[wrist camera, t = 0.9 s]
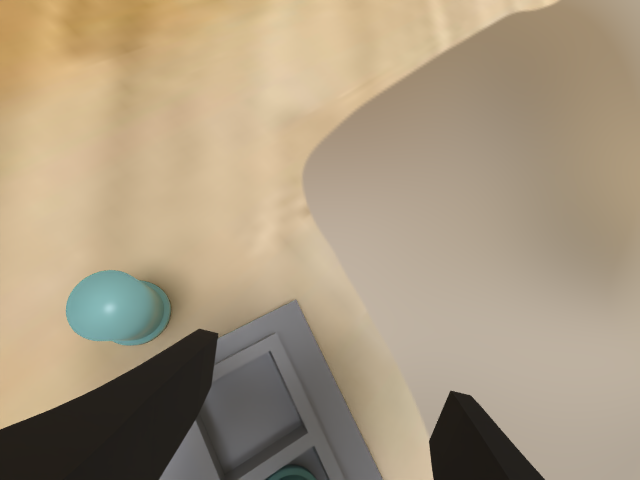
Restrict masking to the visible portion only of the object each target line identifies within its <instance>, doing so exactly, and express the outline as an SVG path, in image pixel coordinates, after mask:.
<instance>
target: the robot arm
mask: <svg viewBox="0 0 640 480" xmlns="http://www.w3.org/2000/svg"><path fill="white" fill-rule="evenodd" d="M217 340H218V333H214V332H210V331H206V330H202V329H198V330H196V331H195V332H193V333H191V334H190V335H188V336H186V337H185V338H183V339H182V340H180V341H179V342H177V343H175V344H174V345H172V346H171V347H169V348H167V349H166V350H164V351H162V352H161V353H159V354H158V355H156V356H154V357H152V358H151V359H149V360H147V361H146V362H144V363H142V364H141V365H139V366H137V367H136V368H134V369H132V370H130V371H128V372H127V373H125V374H123V375H121V376H119V377H117V378H115V379H114V380H112V381H110V382H108V383H106V384H104V385H102V386H101V387H99V388H97V389H95V390H93V391H90V392H88V393H86V394H84V395H82V396H80V397H78V398H76V399H73V400H71V401H69V402H67V403H65V404H62V405H60V406H58V407H56V408H53V409H51V410H49V411H46V412H44V413H41V414H39V415H36V416H34V417H31V418H29V419H26V420H23V421H21V422H18V423H16V424H13V425H11V426H8V427H6V428H3V429H1V430H0V480H159V479H160V477H161V476H162V474H163V472H164V471H165V469H166V467H167V466H168V464H169V463H170V461H171V459H172V458H173V456H174V454H175V453H176V451H177V450H178V448H179V446H180V445H181V443H182V441H183V440H184V438H185V436H186V435H187V433H188V431H189V430H190V428H191V427H192V425H193V423H194V422H195V420H196V418H197V416H198V414H199V412H200V410H201V408H202V406H203V403H204V401H205V399H206V397H207V395H208V393H209V390H210V388H211V385H212V378H213V370H214V363H215V355H216V348H217ZM429 445H430V454H431V463H432V471H433V478H434V480H545V479H544V478H543V477H542V476H541V475H540V474H539V472H538V471H537V470H536V469H535V468H534V467H533V466H532V465H531V464H530V463H529V461H528V460H527V459H526V458H525V457H524V456H523V455H522V453H521V452H520V451H519V450H518V449H517V448H516V447H515V445H514V444H513V443H512V442H511V441H510V440H509V438H508V437H507V436H506V435H505V434H504V433H503V432H502V431H501V429H500V428H499V427H498V426H497V424H496V423H495V422H494V421H493V420H492V419H491V418H490V416H489V415H488V414H487V413H486V412H485V411H484V409H483V408H482V407H481V406H480V405H479V404H478V403H477V402H476V401H475V400H474V398H473V397H472V396H470V395H466V394H462V393H458V392H454V391H450V393H449V396H448V398H447V400H446V403H445V405H444V407H443V410H442V412H441V414H440V417H439V419H438V421H437V424H436V426H435V428H434V431H433V433H432V436H431V438H430V440H429Z"/></svg>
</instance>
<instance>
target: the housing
mask: <svg viewBox="0 0 640 480" xmlns="http://www.w3.org/2000/svg"><path fill="white" fill-rule="evenodd" d="M285 465H299V466H302V467H304V468H306V469H307V470H309V471H310V472H311V473H312V474H313V475H314V477H315V478H316V480H383V479H382V477H381V475H380V473H379V471H378V468H377V466H376V464H375V462H374V460H373V458H372V456H371V454H370V452H369V450H368V448H367V446H366V444H365V442H364V439H363V437H362V435H361V433H360V431H359V429H358V427H357V425H356V423H355V421H354V419H353V417H352V415H351V412H350V410H349V408H348V406H347V404H346V402H345V400H344V398H343V396H342V394H341V392H340V390H339V388H338V386H337V383H336V381H335V379H334V377H333V375H332V373H331V371H330V369H329V367H328V365H327V363H326V361H325V359H324V357H323V354H322V352H321V350H320V348H319V346H318V344H317V342H316V340H315V338H314V336H313V334H312V332H311V330H310V327H309V325H308V323H307V321H306V319H305V317H304V315H303V313H302V311H301V309H300V307H299V305H298V303H297V301H296V300H294V301H292V302H290V303H288V304H286V305H284V306H282V307H280V308H278V309H276V310H274V311H272V312H270V313H268V314H266V315H264V316H262V317H260V318H258V319H256V320H254V321H252V322H250V323H248V324H246V325H244V326H242V327H240V328H238V329H236V330H234V331H232V332H230V333H228V334H226V335H224V336H222V337H220V338H218V340H217V348H216V355H215V363H214V370H213V378H212V385H211V388H210V390H209V393H208V395H207V397H206V399H205V401H204V403H203V406H202V408H201V410H200V412H199V414H198V416H197V418H196V420H195V422H194V423H193V425H192V427H191V428H190V430H189V431H188V433H187V435H186V436H185V438H184V440H183V441H182V443H181V445H180V446H179V448H178V450H177V451H176V453H175V454H174V456H173V458H172V459H171V461H170V463H169V464H168V466H167V467H166V469H165V471H164V472H163V474H162V476H161V477H160V479H159V480H265V479H266V478H267V477H269V476H270V475H272V474H273V473H274V472H276V471H277V470H279V469H280V468H282V467H283V466H285Z"/></svg>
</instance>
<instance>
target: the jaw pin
mask: <svg viewBox="0 0 640 480" xmlns="http://www.w3.org/2000/svg"><path fill="white" fill-rule="evenodd" d="M170 315H171V305H170V301H169V299H168V297H167V295H166V294H165V292H164V291H163V290H162V289H160V288H159V287H158V286H156V285H154V284H152V283H150V282H146V281H139V280H137V279H136V278H134V277H132V276H131V275H129V274H127V273H124V272H121V271H115V270H107V271H101V272H97V273H94V274H92V275H90V276H88V277H86V278H85V279H83V280H82V281H81V282H80V283H79V284H77V285H76V287H75V288H74V289H73V291H72V292H71V294H70V296H69V298H68V301H67V305H66V316H67V320H68V322H69V325H70V326H71V328H72V329H73V330H74V331H75V332H76V333H77V334H78V335H80V336H82V337H83V338H86V339H89V340H93V341H113V342H115V343H118V344H122V345H140V344H144V343H147V342H149V341H151V340H153V339H154V338H156V337H157V336H158V335H160V334H161V333H162V331H163V330H164V329H165V327H166V326H167V324H168V322H169V319H170Z"/></svg>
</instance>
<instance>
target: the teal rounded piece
mask: <svg viewBox="0 0 640 480" xmlns="http://www.w3.org/2000/svg"><path fill="white" fill-rule="evenodd" d="M265 480H316V478H315V477H314V475H313V474H312V473H311V472H310V471H309V470H307V469H306V468H304V467H302V466H299V465H285V466H283V467H282V468H280V469H279V470H277V471H276V472H274V473H273V474H272V475H270V476H269V477H267V478H266V479H265Z"/></svg>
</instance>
